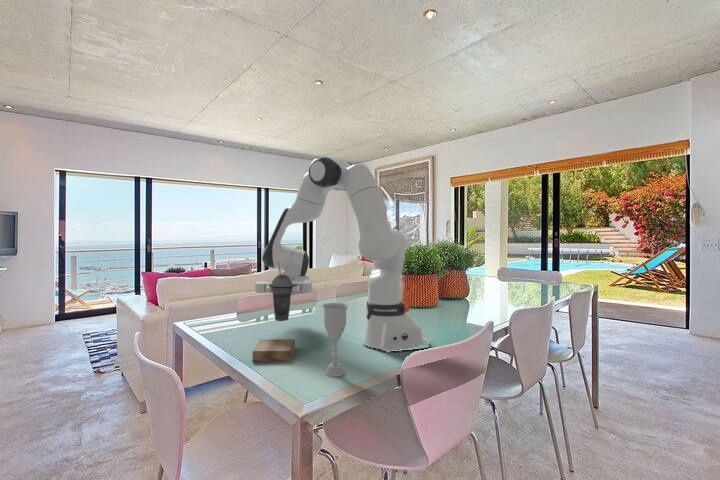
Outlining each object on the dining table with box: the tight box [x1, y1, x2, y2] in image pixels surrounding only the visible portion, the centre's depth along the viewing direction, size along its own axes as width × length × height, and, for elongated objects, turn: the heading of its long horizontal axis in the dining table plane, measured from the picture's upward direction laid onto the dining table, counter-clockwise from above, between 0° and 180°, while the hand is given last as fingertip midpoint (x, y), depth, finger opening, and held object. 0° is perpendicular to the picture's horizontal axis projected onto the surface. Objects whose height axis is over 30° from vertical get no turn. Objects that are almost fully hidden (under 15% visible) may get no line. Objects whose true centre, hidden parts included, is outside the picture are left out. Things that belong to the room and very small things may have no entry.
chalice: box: [322, 302, 349, 378], centre depth 92 cm, size 7×7×18 cm
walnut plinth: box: [252, 338, 296, 362], centre depth 105 cm, size 11×11×3 cm
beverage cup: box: [271, 262, 292, 322], centre depth 119 cm, size 7×7×20 cm
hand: (281, 290), depth 118 cm, fingers closed on beverage cup, 7 cm apart
